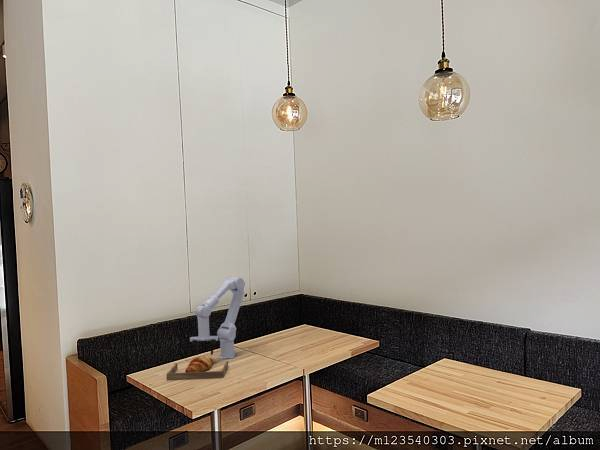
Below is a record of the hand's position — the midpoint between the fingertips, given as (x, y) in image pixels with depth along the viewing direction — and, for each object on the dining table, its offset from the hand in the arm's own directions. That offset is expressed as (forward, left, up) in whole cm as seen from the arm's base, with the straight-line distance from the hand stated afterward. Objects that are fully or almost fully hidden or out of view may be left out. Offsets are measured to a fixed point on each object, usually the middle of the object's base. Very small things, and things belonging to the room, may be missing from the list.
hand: (204, 354), depth 235 cm
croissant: (+9, 0, -5) cm, 11 cm away
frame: (+15, 0, -5) cm, 16 cm away
